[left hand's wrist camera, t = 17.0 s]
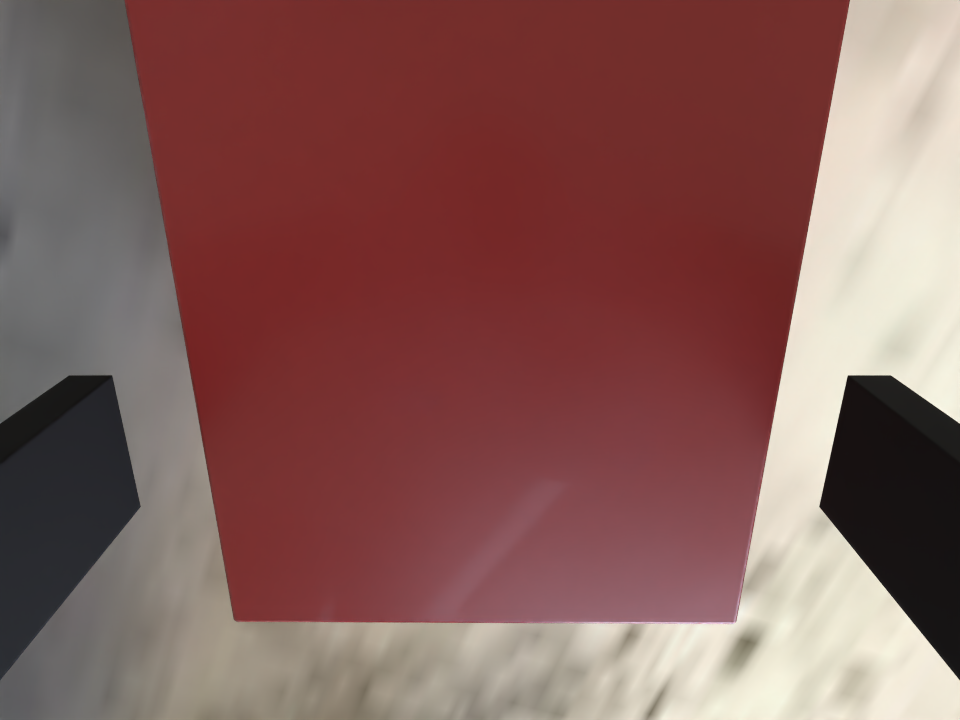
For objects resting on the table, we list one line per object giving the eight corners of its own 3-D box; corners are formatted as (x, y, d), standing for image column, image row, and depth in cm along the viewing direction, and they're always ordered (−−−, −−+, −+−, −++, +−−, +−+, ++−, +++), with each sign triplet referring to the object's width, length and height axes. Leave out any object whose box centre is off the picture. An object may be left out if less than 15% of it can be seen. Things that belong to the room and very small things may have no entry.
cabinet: (268, -233, 17) (14, -599, 8) (704, -234, 17) (963, -605, 8) (329, 414, 24) (232, 623, 15) (639, 414, 24) (737, 625, 15)
